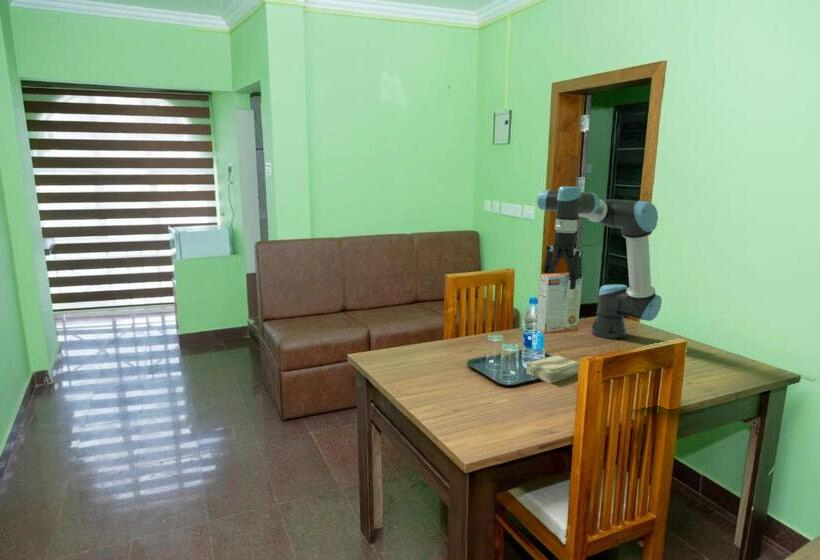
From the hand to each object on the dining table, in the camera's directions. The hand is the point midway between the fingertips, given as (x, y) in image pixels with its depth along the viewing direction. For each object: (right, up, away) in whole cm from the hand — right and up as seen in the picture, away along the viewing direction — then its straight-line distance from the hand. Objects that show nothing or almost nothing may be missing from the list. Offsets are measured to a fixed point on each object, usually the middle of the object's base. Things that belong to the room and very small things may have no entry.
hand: (559, 295), depth 194 cm
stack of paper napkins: (-1, -29, +6) cm, 29 cm away
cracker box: (0, -13, +3) cm, 13 cm away
